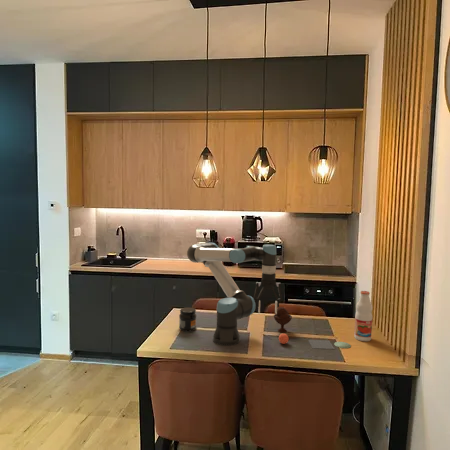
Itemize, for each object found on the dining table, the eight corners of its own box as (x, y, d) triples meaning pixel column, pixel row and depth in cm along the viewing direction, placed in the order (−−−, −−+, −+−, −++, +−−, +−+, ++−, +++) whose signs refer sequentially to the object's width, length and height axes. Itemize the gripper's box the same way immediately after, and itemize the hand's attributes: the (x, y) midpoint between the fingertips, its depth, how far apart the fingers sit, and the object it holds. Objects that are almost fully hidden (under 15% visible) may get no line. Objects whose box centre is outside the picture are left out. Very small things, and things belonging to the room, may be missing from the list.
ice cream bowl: (291, 334, 225) (292, 310, 224) (272, 333, 227) (273, 308, 226) (291, 328, 236) (292, 305, 234) (273, 327, 238) (274, 303, 237)
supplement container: (199, 328, 233) (200, 309, 232) (188, 333, 224) (188, 313, 223) (187, 324, 239) (187, 306, 238) (175, 329, 230) (175, 310, 229)
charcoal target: (312, 348, 205) (312, 348, 205) (308, 340, 217) (308, 339, 217) (334, 349, 205) (334, 348, 205) (329, 340, 217) (329, 340, 217)
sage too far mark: (336, 348, 207) (336, 347, 207) (332, 341, 216) (332, 341, 216) (353, 348, 207) (353, 348, 207) (348, 342, 216) (348, 341, 216)
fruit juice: (366, 335, 227) (369, 289, 225) (374, 341, 218) (376, 293, 215) (351, 335, 226) (353, 289, 224) (358, 341, 217) (360, 293, 215)
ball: (279, 345, 209) (279, 335, 208) (277, 341, 214) (278, 332, 214) (289, 345, 209) (289, 335, 208) (287, 341, 214) (287, 332, 214)
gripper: (249, 273, 205) (248, 314, 207) (289, 274, 205) (287, 315, 207) (249, 270, 213) (247, 310, 214) (287, 271, 212) (285, 311, 214)
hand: (267, 312), depth 210 cm, fingers open, 9 cm apart
